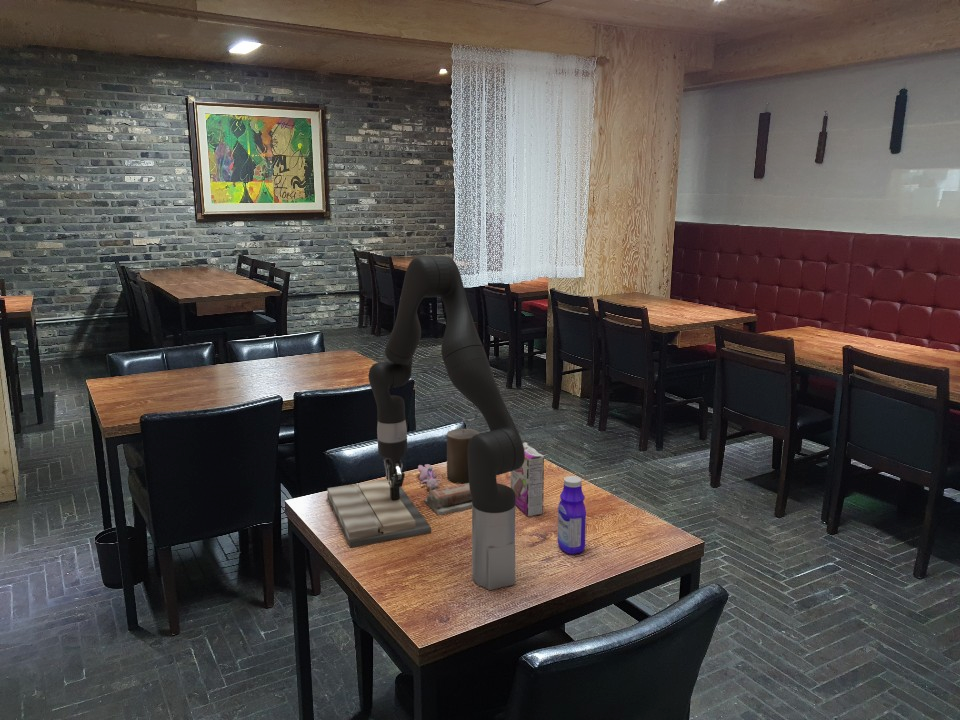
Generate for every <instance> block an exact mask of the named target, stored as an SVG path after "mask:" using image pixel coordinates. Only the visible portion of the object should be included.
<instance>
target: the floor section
mask: <svg viewBox="0 0 960 720" xmlns="http://www.w3.org/2000/svg"><path fill="white" fill-rule="evenodd" d="M399 493H400V500H401V501H402V503H403V504H404V506H405V507H406V508H407V510H408V511H409V513H410V514H411V515H412V517H413V518H414V520H415V528H413V529H408V530H402V531H397V532H391V533H386V534H383V532H380V531H379V529H382V526H381V524H380V522H379V521H378V519H377V517H376V516H375V514H374V512H373V510H372V509H371V507H370V505H369V504H368V502H367V500H366V499H365V497H364V495H363V494H362V492H361V490H360V489H359V487H358V483H352V484H345V485H340V486H339V485H338V486H334V487H333V486H332V487H327V493H326V494H327V497H326V498H327V501H328V500H329V501H328V502H329V505H330V507H331V509H332V511H334V512H333V513H335V514H334V516H335V515H336V516H335V517H337V518H336V519H337V522H338V524H339V526H340V528H342V529H341V530H342V532H343V535H344V537H345V539H346V541H347V544H348V546H349V548H350V549H351V548H357V547H363V546H368V545H372V544H379V543H383V542H385V543H386V542H389V541H394V540H400V539H406V538H410V537H411V538H412V537H416V535H417V536H422V535H426V534H431V533H432V527H431V525H430V524H429V523H428V521H427V520H426V519H425V516H423V515H422V513H421V512H420V510H419V509H418V508H417V506H416V505H415V504H414V502H413V501H412V499H410V497H409V495H408V494H407V493H406V491H405V490H404V488H402V487H399Z"/></svg>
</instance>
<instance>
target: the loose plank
mask: <svg viewBox="0 0 960 720" xmlns="http://www.w3.org/2000/svg"><path fill="white" fill-rule="evenodd" d="M357 485H358V487H359V489H360V490H361V492H362V494H363V495H364V497H365V499H366V500H367V502H368V504H369V505H370V507H371V509H372V510H373V512H374V514H375V516H376V517H377V519H378V521H379V522H380V524H381V526H382V529H379V531H380V532H383V534H386V533H391V532H397V531H402V530H408V529H413V528H415V520H414V518H413V517H412V515H411V514H410V513H409V511H408V510H407V508H406V507H405V506H404V504H403V503H402V501H401V500H400V499H399V500H394V501H392V500H391V498H390V485H389V484H388V481H387V479H378V480H373V481H365V482H359V483H357Z"/></svg>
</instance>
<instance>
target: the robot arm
mask: <svg viewBox="0 0 960 720" xmlns="http://www.w3.org/2000/svg"><path fill="white" fill-rule="evenodd" d="M403 278H404V280H403V282H402V283H403V284H402V289H401V293H400V297H399V304H398V308H397V315H396V318H395V322H394V324H393V325H394V326H393V328H392V331H391V333H390V335H389V338H388V340H387V343H386V344H385V350H384V354H385V357H386V358H387V360H385V361H379V362H375V363H373V364H372V365H371V367H370V368H369V370H368V381H369V385H370V389H371V391H372V394H373V397H374V400H375V404H376V412H377V413H376V414H377V425H376V426H377V427H376V431H377V432H376V434H377V435H376V436H377V453H378V456H379V457H381V458H383V459H382V463H383V467H384V472H385V477H386V480H387V482H388V484H389V485H390V498H391V500H392V501H394V500H399V499H400V493H399V487H401V488H402V487H403V485H404V484H403V483H404V480H405V478H406V477H405V476H406V475H405V474H406V473H405V472H403V469H404V468H403V467H404V465H403V464H404V463H403V461H402V460H401V459H402V457H404V456H405V455H407V454H408V433H407V432H408V430H407V429H408V428H407V421H406V406H405V404H406V403H405V400H404V398H403V397H402V396H399V395H393V394H392V395H391V394H390V389H394V388H398V387H402V386H405V385H406V384H407V383H408V382H409V381H410V379H411V377H412V372H413V371H412V368H413V359H414V355H415V353H416V350H417V348H418V346H419V343H420V340H421V337H422V327H421V322H420V320H419V315H418V309H419V306H420V304H421V302H422V301H423V299H425V298H440V299H441V301H442V303H443V306H444V310H445V313H446V325H445V329H444V334H443V337H442V338H443V339H442V343H441V351H440V352H441V356H442V357H441V358H442V361H443V364H444V366H445V369H446V372H447V375H448V377H449V380H450V382H451V384H452V385H453V386H454V387H455V388H456V390H457V391H459V393H460V394H462V395H463V397H464V398H466V399H467V400H468V401H469V402H471V403H472V404H473V406H475V407H476V408H477V409H478V411H479V412H480V413H481V414H482V416H483V417H484V418H483V419H485V422H486V424H487V426H488V429H489V431H485V432H479V434H476V435H474V436H473V437H472V438H471V439H470V441H469V444H468V453H467V456H468V472H469V488H470V492H471V496H472V509H471V536H472V537H471V544H472V545H471V552H472V553H471V559H472V560H471V561H472V565H471V566H472V567H471V568H472V569H471V572H472V577H471V579H472V580H473V582H474V583H475V584H477V585H478V586H481V587H484V588H486V589H487V590H488V591H491V590H496V589H500V588H505V587H509V586H514V585H515V584H516V497H515V492H514V490H513V489H512V488H511V486H508V485H506V484H502V483H498V482H497V476H500V475H503V474H507V473H511V471H514V470H517V469H519V468H521V467H522V465H523V463H524V459H525V452H524V446H523V443H524V442H523V441H522V438H521V435H520V433H519V431H518V429H517V426H516V424H515V422H514V421H513V418H512V416H511V414H510V411H509V410H508V407H507V406H506V403H505V402H504V400H503V396H502V394H501V392H500V390H499V387H498V383H497V382H496V379H495V376H494V374H493V371H492V368H491V366H490V365H491V364H490V361H489V359H488V356H487V353H486V350H485V348H484V344H483V343H482V341H481V339H480V338H481V337H480V336H479V334H478V330H477V328H476V325H475V322H474V318H473V316H472V312H471V309H470V306H469V303H468V302H469V301H468V299H467V294H466V290H465V288H464V287H465V286H464V282H463V279H462V275H461V273H460V270H459V267H458V265H457V264H456V262H455V260H454V259H453V258H452V257H450V256H446V255H421V256H416V257H414V258H413V259H411V261H410V262H409V264H408V265H407V268H406V271H405V275H404V277H403Z"/></svg>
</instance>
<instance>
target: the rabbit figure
mask: <svg viewBox="0 0 960 720" xmlns="http://www.w3.org/2000/svg"><path fill="white" fill-rule="evenodd" d="M417 470H418V472H419V473H420V475H419V480H420V484H421V485H422V484H424V483H426V485H425V486H426V490H428V491H431V490H435V489H440V484H439V482H442V479H439V478H437V476H438V475H437V474H436V473H435V472H434V470H433V466H432V465H431V464H428V463H427V464H424V466H423V465H422V464H419V465H417Z"/></svg>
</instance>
